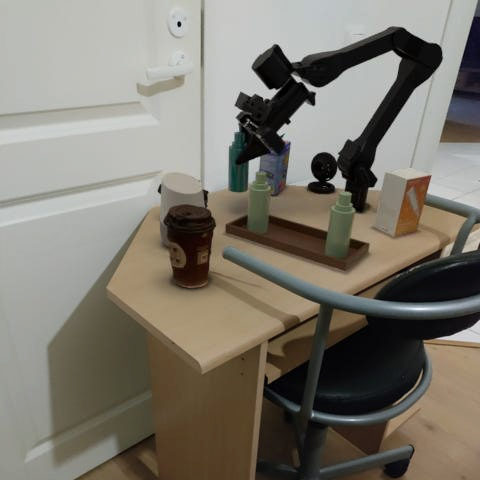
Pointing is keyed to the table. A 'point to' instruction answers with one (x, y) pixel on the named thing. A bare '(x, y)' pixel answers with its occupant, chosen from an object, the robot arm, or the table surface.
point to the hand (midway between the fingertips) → (232, 160)
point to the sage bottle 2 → (340, 227)
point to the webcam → (323, 172)
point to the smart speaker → (178, 195)
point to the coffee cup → (189, 243)
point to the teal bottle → (237, 166)
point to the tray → (298, 241)
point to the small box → (402, 200)
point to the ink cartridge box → (276, 168)
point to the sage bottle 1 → (259, 204)
